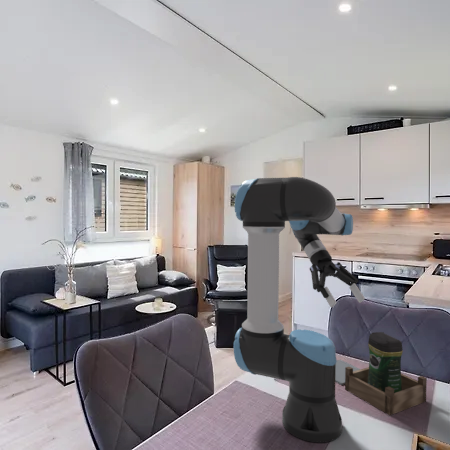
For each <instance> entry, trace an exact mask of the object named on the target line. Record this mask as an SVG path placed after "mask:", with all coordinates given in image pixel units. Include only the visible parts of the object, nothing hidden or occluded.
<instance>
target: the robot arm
mask: <svg viewBox="0 0 450 450" xmlns="http://www.w3.org/2000/svg"><path fill="white" fill-rule="evenodd" d="M234 212H235V217H236V218H237V220H239V221H241V222H242V228H243V229H244V230H245V232H247V306H246V307H247V312H246V313H247V315H246V317H247V318H246V319H245V320H244V321H243V322H242V323H241V327H239V329H238V330H237V331H236V333H235V336H234V341H233V356H234V361H235V363H236V365H237V367H238V368H239V369H241V370H242V371H244V372H247V373H250V374H252V375H255V376H256V375H258V376H263V377H266V378H272V379H277V380H281V381H285V382H289V384H288V385H289V392H288V395H287V399H286V401H285V405H284V407H283V409H282V418H281V421H282V425H283V427H284V429H285V430H286V431H287V432H288V433H289V434H291V435H292V436H294V437H295V438H298V439H299V440H303V441H307V442H309V443H310V442H312V443H329V442H332V441H335V440H336V439H338V438H339V437H340V436H341V434H342V433H343V420H342V419H343V418H342V416H341V414H340V410H339V406H338V403H337V399H336V382H335V373H336V361H337V360H338V359H337V356H336V355H337V353H336V346H335V343H334V342H333V341H332V339H331V338H329V337H328V336H326V334H325V335H324V334H322V333H321V332H317V331H314V330H311V329H309V330H308V329H294V330H292V331H291V332H290V333H289V334H285V326H284V324H283V323H282V322H281V321H280V320H279V297H280V296H279V294H280V293H279V291H280V289H279V287H280V285H279V284H280V281H279V280H280V279H279V277H280V276H279V275H280V269H279V268H280V234H281V232H282V231H284V230H285V228H286V227H285V225H286V222H289V226H290V228H291V229H292V233H293V235H294V237H295V239H296V240H297V241H298V243H299V244H300V246H301V248H302V250H303V252H304V253H305V255H306V256H307V258H308V259H309V261H310V263H311V266H310V267H309V268H308V269H309V271H310V273H311V281H312V289H313V290H314V291H316V292H317V293H321V295H322V296H323V298H324V299H325V300H326V302H327V304H328V305H329V307H330V308H334V307H335V305H336V304H337V301H336V299H335V297H334V296H333V295H332V293H331V291H330V290H329V288H328V286H325V285H326V279H327V277H334V278H337V279H339V280H340V281H341V282H343V283H345V284H346V285H347V286H349V289H350V291H351V293H352V294H353V296H354V297H355V299H356V300H357V302H358V303H359V304H361V303H362V302H363V301H364V300H365V299H366V298H365V296H364V295H363V293H362V291H361V289H360V288H359V286H358V284H357V283H359V282H360V281H359V279H358V278H357V277H356V276H355V275H353V274H352V273H351V272H350V271H349V270H347V268H346V267H344V266H343V265H342V264H341V262H339V261H338V262H337V263H334V262H333V260H332V256H331V253H330V252H329V251H328V250H327V248H326V246H325V244H324V243H323V242H322V241H321V239H320V237H319V236H318V235H327V236H328V235H329V236H330V235H332V236H350V235H352V234H353V231H354V217H353V215H352V214H350V213H341V211H340V210H339V209H338V207H337V202H336V199H335V197H334V195H333V193H332V192H331V191H330V190H329V189H328V188H326V186H324V185H323V184H320V183H318V182H315V181H314V180H311V179H308V178H304V177H299V176H290V177H289V176H288V177H263V178H261V177H258V178H254V179H246V180H244V181H243V182H242V183H240V185H239V187H238V189H237V191H236V194H235V198H234Z"/></svg>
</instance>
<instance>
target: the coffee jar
mask: <svg viewBox="0 0 450 450" xmlns="http://www.w3.org/2000/svg"><path fill="white" fill-rule="evenodd" d="M367 344H368V351H369V352H368V353H369V356H368V357H369V360H368V361H369V362H368V367H369V375H368V384H369V385H371V386H373V387H375V388H377V389H379V390H381V391H383V392H385V388H386V387H391V388H393V389H394V393H396V392H399V391H402V385H401V374H402V369H401V368H402V361H401V360H402V356H403V343H402V341H401V340H400V339H397V338H395V337H393V336H392V335H389V334H387V333H385V332H384V331H376V332H375V331H374V332H371V334H369V336H368V343H367Z"/></svg>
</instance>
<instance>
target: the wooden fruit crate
mask: <svg viewBox="0 0 450 450" xmlns="http://www.w3.org/2000/svg"><path fill="white" fill-rule="evenodd" d="M359 369H360V370H357V371H353V368H351V367H345V384H344V389H345V391H347V392H348V393H351V394H352V395H354V396H356V397H357V398H359V399H361V400H362V401H365V403H368V404H370V405H371V406H373V407H374V408H377V409H378V410H380V411H381V412H383V413H385V414H387V415H388V416H392V415H394V414H397V413H400V412H402V411H406V410H408V409H411V408H414V407H416V406H418V405H420V404H424V403H427V383H428V380H427V377H425V376H423V375H419V376H418V377H417V380H416V379H414V378H412V377H410V376H407V375H406V374H403V373H401V385H402V391H399V392H396V393H394V389H393V388H391V387H386V388H385V392H383V391H381V390H379V389H377V388H375V387H373V386H371V385H369V384H368V375H369V366H368V367H365V368H359Z"/></svg>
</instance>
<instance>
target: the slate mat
mask: <svg viewBox="0 0 450 450" xmlns="http://www.w3.org/2000/svg"><path fill="white" fill-rule="evenodd" d="M336 360H337V361H336V373H335V383H336V384H339V385H340V386H345V367H351V368H353V371H357V370H360V369H361V368H359V367H357V366H355V365H353V364H350V362H347V361H344V360H342V359H336Z"/></svg>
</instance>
